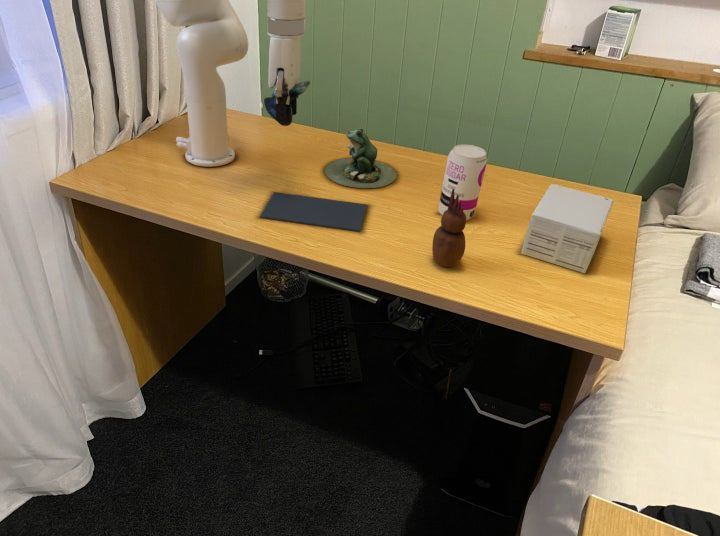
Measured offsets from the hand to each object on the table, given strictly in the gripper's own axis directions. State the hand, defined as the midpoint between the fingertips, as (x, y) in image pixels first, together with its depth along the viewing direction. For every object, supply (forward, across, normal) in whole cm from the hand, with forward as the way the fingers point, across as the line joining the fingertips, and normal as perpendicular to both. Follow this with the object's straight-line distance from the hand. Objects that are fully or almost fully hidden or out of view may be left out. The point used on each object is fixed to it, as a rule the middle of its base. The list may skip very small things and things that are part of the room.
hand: (286, 117), depth 124 cm
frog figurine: (+18, -15, +16) cm, 28 cm away
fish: (+2, 0, 0) cm, 2 cm away
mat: (+18, +8, +8) cm, 21 cm away
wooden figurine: (+19, +21, +37) cm, 47 cm away
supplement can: (+18, 0, +40) cm, 44 cm away
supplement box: (+19, +8, +61) cm, 65 cm away
